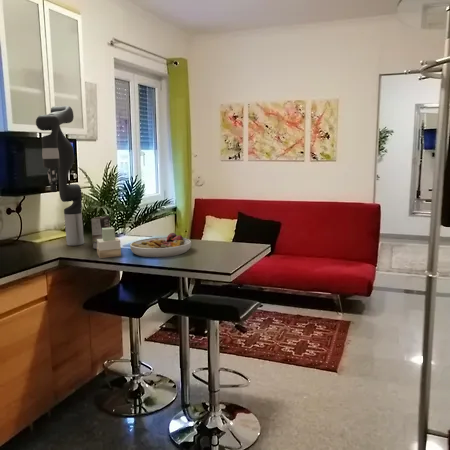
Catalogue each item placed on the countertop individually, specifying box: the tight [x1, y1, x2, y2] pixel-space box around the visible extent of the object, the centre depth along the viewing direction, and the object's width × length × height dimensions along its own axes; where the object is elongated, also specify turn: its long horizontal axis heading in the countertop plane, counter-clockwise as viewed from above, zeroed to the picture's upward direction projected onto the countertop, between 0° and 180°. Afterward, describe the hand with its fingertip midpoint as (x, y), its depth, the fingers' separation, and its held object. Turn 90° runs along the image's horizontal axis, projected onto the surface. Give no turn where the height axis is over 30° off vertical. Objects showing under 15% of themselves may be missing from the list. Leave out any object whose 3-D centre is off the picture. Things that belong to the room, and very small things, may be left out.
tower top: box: [97, 236, 122, 251], centre depth 227 cm, size 10×10×4 cm
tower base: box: [96, 247, 122, 259], centre depth 227 cm, size 10×10×4 cm
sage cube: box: [102, 226, 116, 241], centre depth 226 cm, size 6×6×6 cm
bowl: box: [129, 232, 192, 258], centre depth 231 cm, size 30×30×8 cm
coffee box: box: [90, 215, 111, 250], centre depth 247 cm, size 9×6×16 cm
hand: (53, 191), depth 225 cm, fingers open, 8 cm apart
